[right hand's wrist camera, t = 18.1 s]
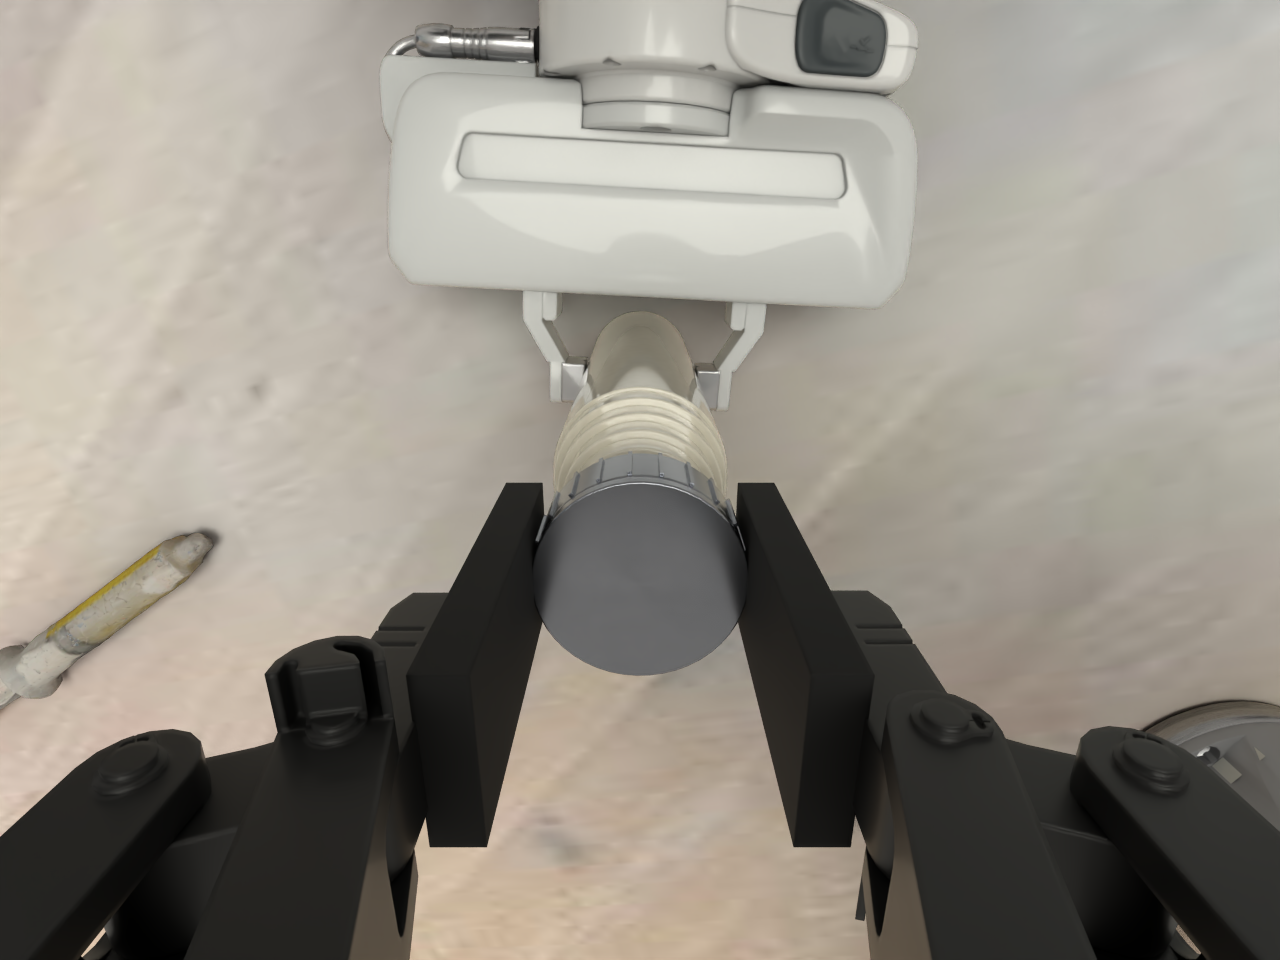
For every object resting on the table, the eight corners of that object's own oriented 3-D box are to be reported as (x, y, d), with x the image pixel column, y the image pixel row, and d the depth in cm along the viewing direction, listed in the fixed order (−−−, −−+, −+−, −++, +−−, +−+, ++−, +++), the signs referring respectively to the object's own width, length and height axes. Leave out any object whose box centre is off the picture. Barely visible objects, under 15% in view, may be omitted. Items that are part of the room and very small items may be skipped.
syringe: (198, 512, 38) (166, 533, 36) (246, 563, 39) (217, 587, 37) (-86, 710, 43) (-132, 740, 40) (-37, 751, 44) (-80, 783, 41)
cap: (554, 638, 15) (545, 686, 14) (526, 458, 14) (511, 490, 12) (743, 622, 15) (756, 670, 14) (734, 440, 14) (747, 468, 12)
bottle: (638, 290, 34) (634, 402, 12) (705, 356, 35) (813, 566, 13) (574, 360, 35) (467, 576, 13) (641, 422, 37) (644, 713, 15)
